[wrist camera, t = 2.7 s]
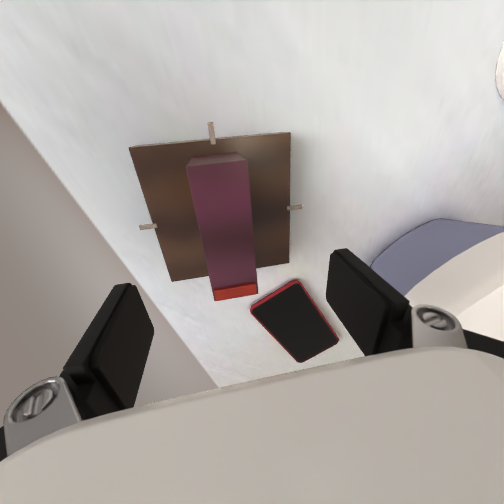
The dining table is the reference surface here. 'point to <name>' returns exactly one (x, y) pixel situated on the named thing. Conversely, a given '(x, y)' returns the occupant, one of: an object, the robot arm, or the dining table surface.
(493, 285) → the bowl
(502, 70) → the base with upright slab
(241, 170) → the bar
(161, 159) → the panel
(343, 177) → the dining table surface
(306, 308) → the smartphone
